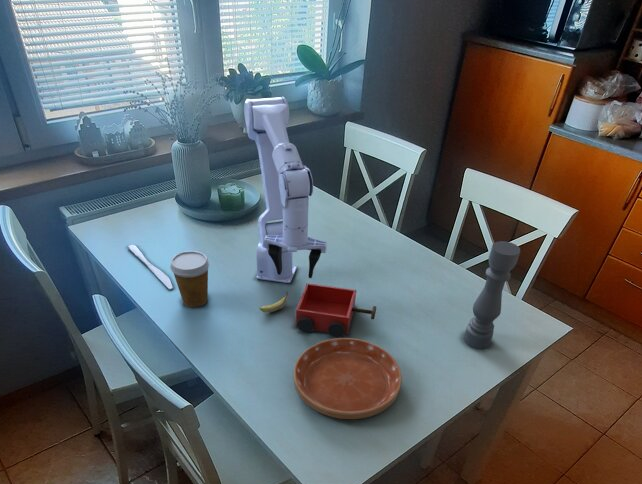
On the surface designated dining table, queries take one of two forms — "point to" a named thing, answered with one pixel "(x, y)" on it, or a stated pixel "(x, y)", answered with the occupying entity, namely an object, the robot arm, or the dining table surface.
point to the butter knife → (152, 267)
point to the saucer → (347, 378)
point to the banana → (274, 305)
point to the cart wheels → (335, 327)
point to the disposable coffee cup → (191, 277)
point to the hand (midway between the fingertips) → (295, 274)
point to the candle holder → (491, 294)
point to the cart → (326, 306)
